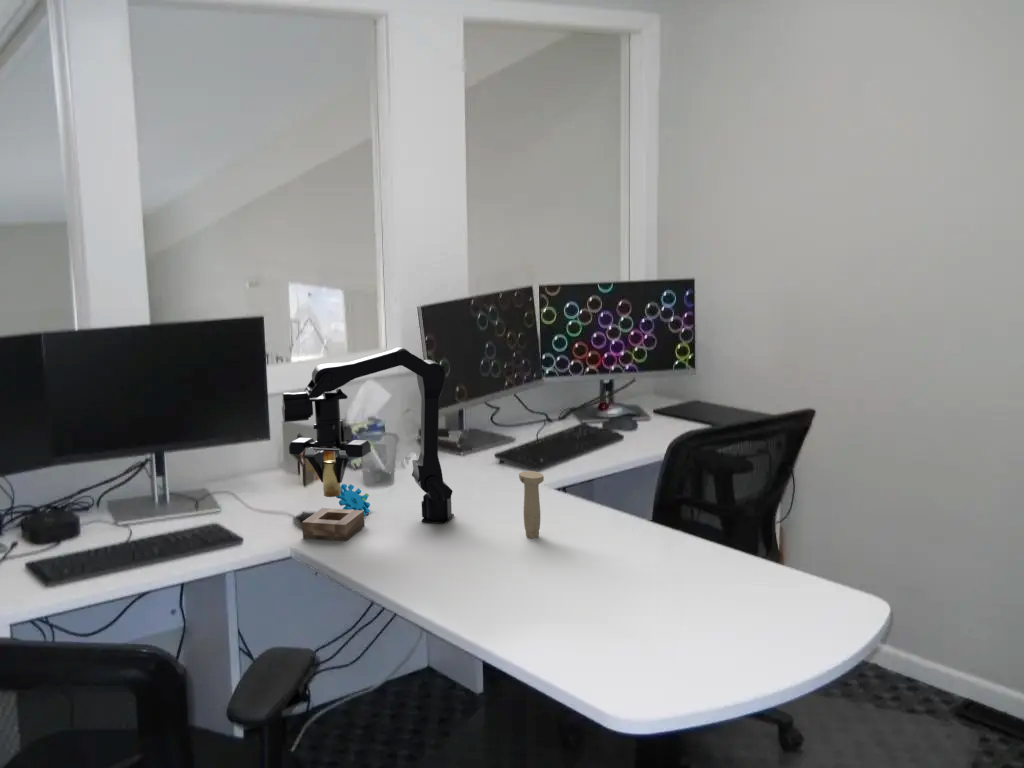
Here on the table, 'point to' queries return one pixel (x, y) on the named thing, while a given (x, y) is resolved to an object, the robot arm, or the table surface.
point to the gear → (353, 499)
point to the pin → (330, 479)
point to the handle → (531, 502)
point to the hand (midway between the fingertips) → (331, 482)
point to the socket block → (333, 524)
